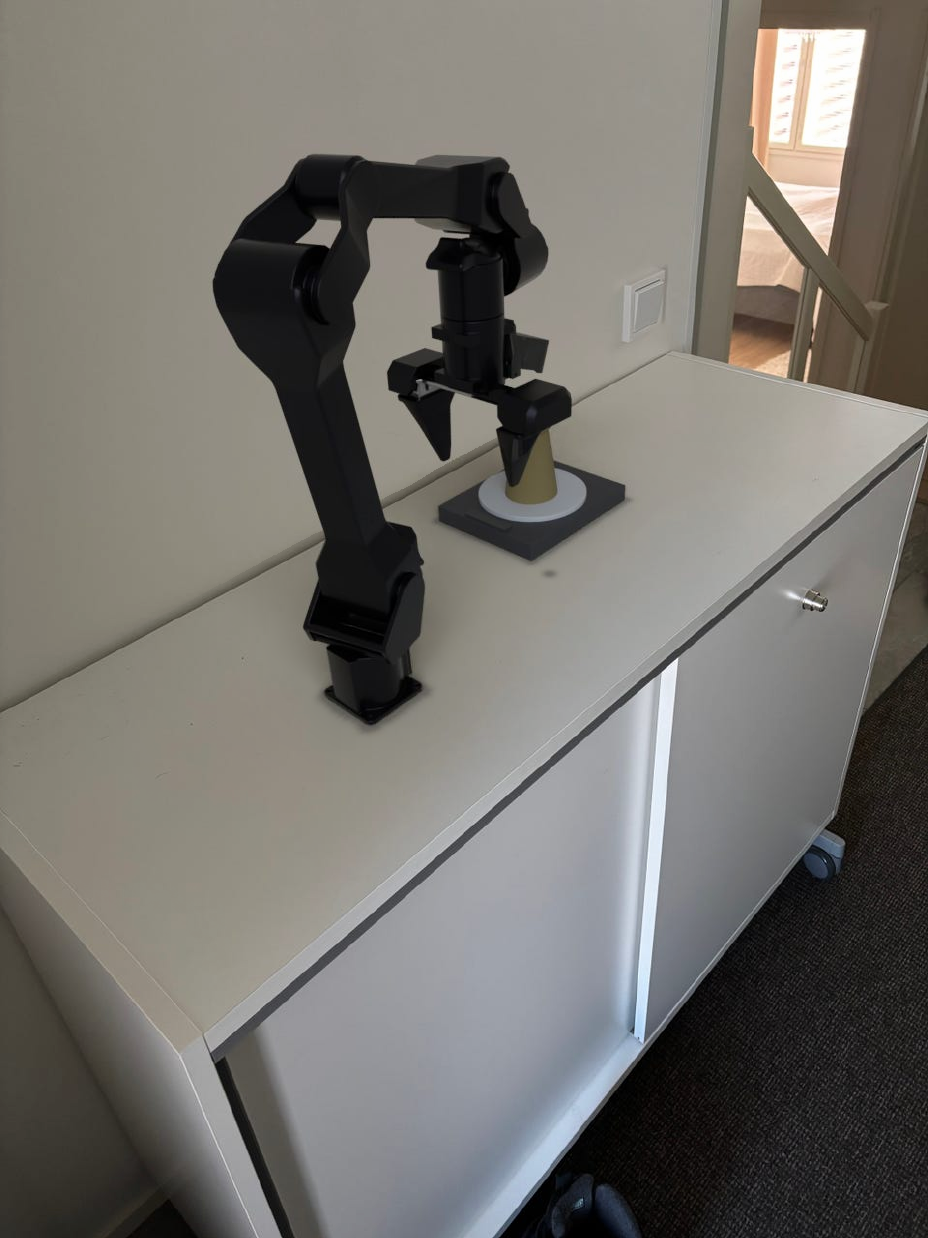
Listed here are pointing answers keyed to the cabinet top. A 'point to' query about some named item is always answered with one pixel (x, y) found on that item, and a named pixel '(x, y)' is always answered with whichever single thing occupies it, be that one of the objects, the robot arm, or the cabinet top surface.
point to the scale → (531, 511)
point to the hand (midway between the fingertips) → (478, 472)
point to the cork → (536, 475)
